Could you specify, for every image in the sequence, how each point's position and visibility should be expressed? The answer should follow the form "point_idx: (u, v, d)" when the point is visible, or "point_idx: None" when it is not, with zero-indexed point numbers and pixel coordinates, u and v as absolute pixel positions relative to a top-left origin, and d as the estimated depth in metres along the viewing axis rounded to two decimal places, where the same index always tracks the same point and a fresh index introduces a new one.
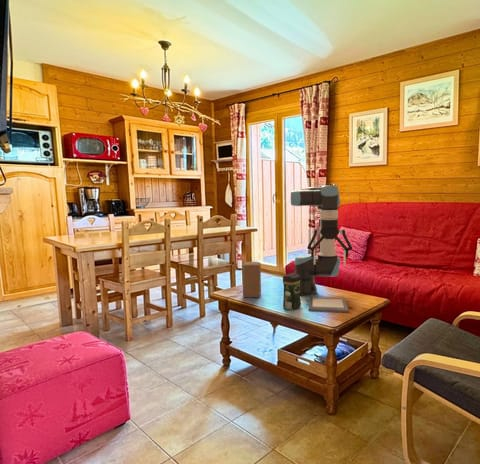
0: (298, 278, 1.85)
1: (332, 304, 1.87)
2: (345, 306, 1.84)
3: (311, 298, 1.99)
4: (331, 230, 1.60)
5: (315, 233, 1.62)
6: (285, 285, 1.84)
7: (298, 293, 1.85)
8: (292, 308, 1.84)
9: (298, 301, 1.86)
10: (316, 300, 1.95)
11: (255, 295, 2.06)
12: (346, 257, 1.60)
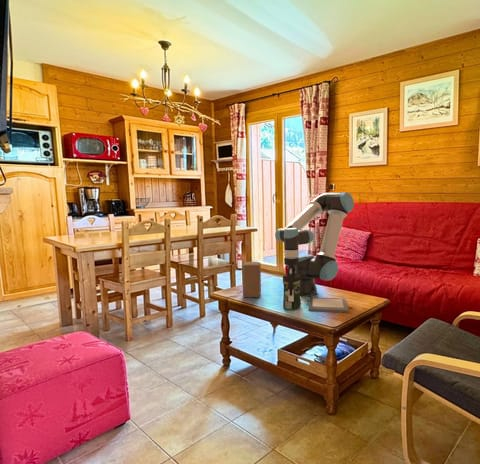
0: (298, 278, 1.85)
1: (332, 304, 1.87)
2: (345, 306, 1.84)
3: (311, 298, 1.99)
4: None
5: None
6: (285, 285, 1.84)
7: (298, 293, 1.85)
8: (292, 308, 1.84)
9: (298, 301, 1.86)
10: (316, 300, 1.95)
11: (255, 295, 2.06)
12: (289, 295, 1.82)
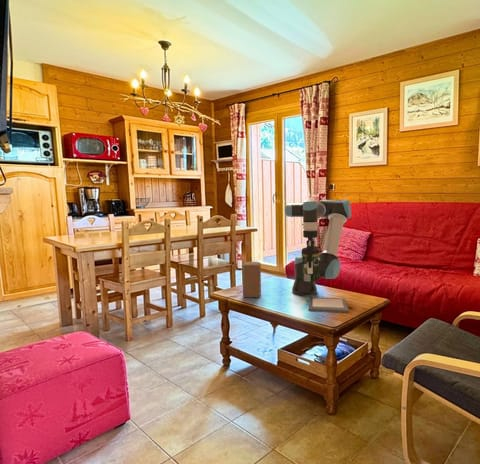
0: (317, 251, 1.84)
1: (332, 304, 1.87)
2: (345, 306, 1.84)
3: (311, 298, 1.99)
4: None
5: None
6: (304, 258, 1.84)
7: (317, 266, 1.85)
8: (311, 280, 1.83)
9: (317, 274, 1.85)
10: (316, 300, 1.95)
11: (255, 295, 2.06)
12: (308, 267, 1.82)
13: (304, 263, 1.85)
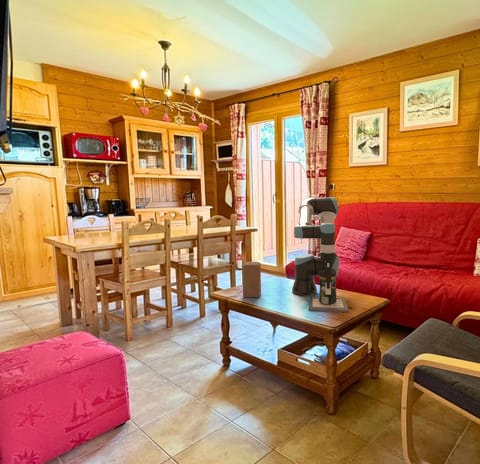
0: (334, 273, 1.87)
1: (332, 304, 1.87)
2: (345, 306, 1.84)
3: (311, 298, 1.99)
4: (325, 261, 1.87)
5: None
6: (322, 280, 1.86)
7: (334, 288, 1.87)
8: (329, 303, 1.85)
9: (334, 296, 1.88)
10: (316, 300, 1.95)
11: (255, 295, 2.06)
12: (326, 288, 1.82)
13: (322, 286, 1.87)
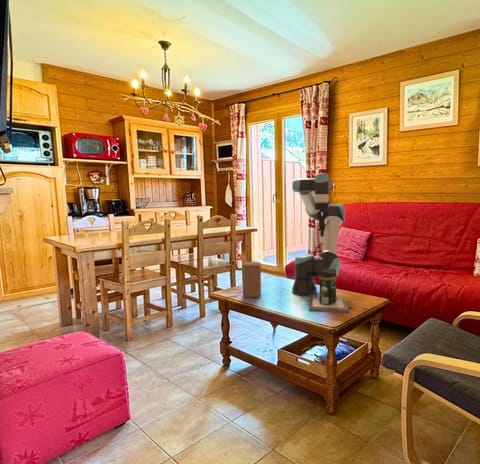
0: (334, 273, 1.87)
1: (332, 304, 1.87)
2: (345, 306, 1.84)
3: (311, 298, 1.99)
4: None
5: None
6: (322, 280, 1.86)
7: (334, 288, 1.87)
8: (329, 303, 1.85)
9: (334, 296, 1.88)
10: (316, 300, 1.95)
11: (255, 295, 2.06)
12: (320, 236, 1.85)
13: (322, 286, 1.87)
